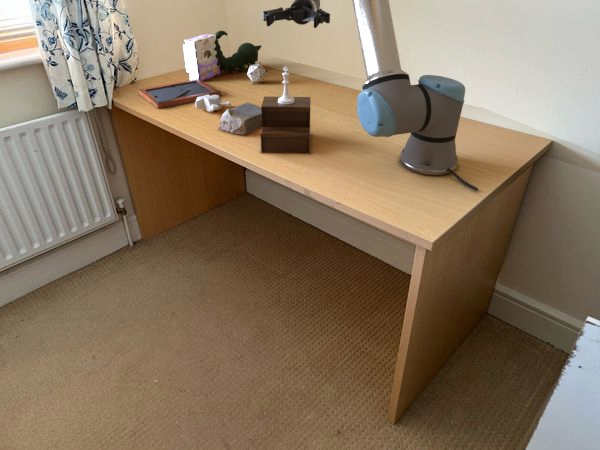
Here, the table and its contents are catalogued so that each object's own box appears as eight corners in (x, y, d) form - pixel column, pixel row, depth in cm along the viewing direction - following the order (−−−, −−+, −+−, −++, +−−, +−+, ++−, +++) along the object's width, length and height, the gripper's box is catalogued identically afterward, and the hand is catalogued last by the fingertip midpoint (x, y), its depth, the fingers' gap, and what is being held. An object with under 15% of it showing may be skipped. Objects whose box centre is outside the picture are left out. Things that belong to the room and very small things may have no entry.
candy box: (210, 72, 194) (206, 33, 185) (220, 74, 192) (216, 34, 182) (189, 80, 184) (183, 39, 175) (199, 82, 182) (194, 41, 172)
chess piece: (288, 105, 124) (288, 69, 118) (274, 102, 126) (273, 67, 120) (297, 100, 127) (297, 65, 122) (283, 97, 129) (283, 63, 124)
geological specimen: (273, 108, 142) (241, 119, 131) (272, 126, 145) (241, 138, 135) (248, 101, 147) (216, 111, 137) (249, 118, 150) (217, 129, 140)
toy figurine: (222, 81, 189) (269, 66, 201) (214, 35, 178) (264, 22, 189) (212, 76, 196) (258, 62, 207) (203, 31, 184) (252, 19, 195)
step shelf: (309, 153, 125) (310, 113, 119) (261, 152, 126) (259, 112, 119) (309, 134, 137) (310, 97, 130) (265, 133, 137) (264, 96, 130)
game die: (261, 92, 183) (266, 77, 174) (241, 85, 181) (246, 69, 173) (266, 76, 187) (271, 60, 178) (247, 69, 185) (251, 53, 176)
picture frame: (157, 108, 156) (220, 95, 168) (156, 103, 155) (219, 90, 167) (139, 94, 169) (198, 83, 181) (138, 88, 168) (197, 78, 180)
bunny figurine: (210, 91, 160) (233, 96, 150) (213, 104, 162) (235, 110, 152) (188, 96, 155) (210, 102, 145) (190, 110, 157) (212, 117, 147)
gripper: (341, 24, 140) (334, 37, 123) (265, 21, 143) (249, 34, 126) (342, -2, 136) (335, 8, 119) (265, -4, 139) (247, 5, 122)
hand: (291, 21), depth 122 cm, fingers open, 13 cm apart
